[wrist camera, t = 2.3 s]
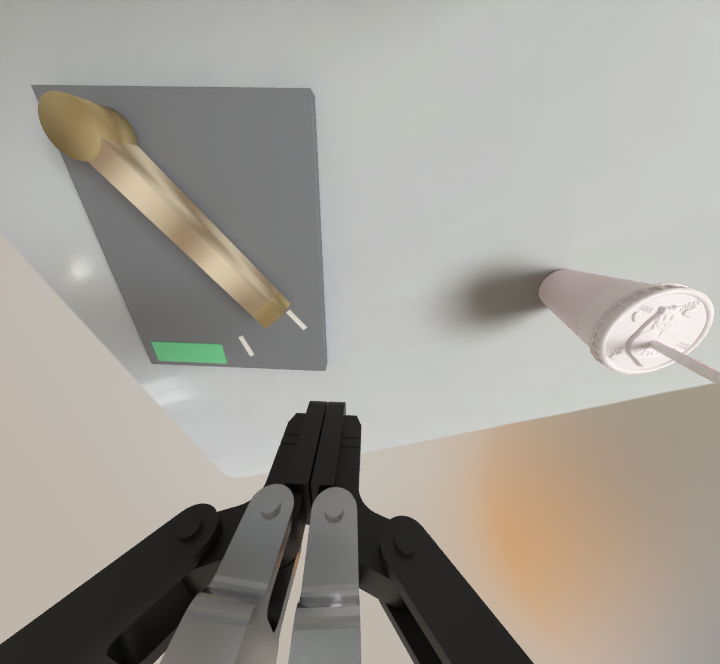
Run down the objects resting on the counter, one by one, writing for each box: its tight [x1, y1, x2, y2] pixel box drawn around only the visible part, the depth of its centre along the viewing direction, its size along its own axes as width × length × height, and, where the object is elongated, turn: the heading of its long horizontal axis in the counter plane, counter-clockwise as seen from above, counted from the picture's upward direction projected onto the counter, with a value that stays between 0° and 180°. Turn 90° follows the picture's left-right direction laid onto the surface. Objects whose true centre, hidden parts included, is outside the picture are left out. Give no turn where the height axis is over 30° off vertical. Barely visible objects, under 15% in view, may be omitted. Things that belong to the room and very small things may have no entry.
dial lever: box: [38, 90, 291, 329], centre depth 21 cm, size 19×4×3 cm, turn 39°
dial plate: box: [31, 85, 327, 371], centre depth 24 cm, size 24×20×2 cm
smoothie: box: [538, 269, 720, 385], centre depth 19 cm, size 6×6×14 cm
